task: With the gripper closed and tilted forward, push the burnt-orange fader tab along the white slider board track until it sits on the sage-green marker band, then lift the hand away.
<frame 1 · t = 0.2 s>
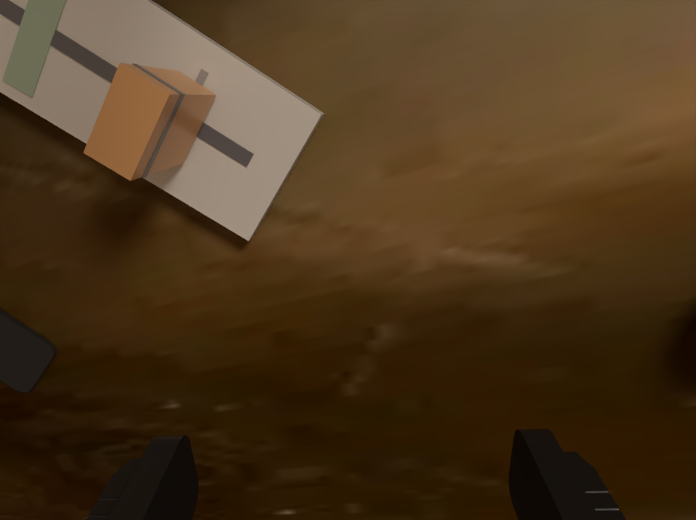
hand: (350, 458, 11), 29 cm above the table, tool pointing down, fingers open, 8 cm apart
white slider board: (126, 75, 37), on the table
fader tab: (156, 121, 31), point 6 cm above the table, slide at -6.0 cm
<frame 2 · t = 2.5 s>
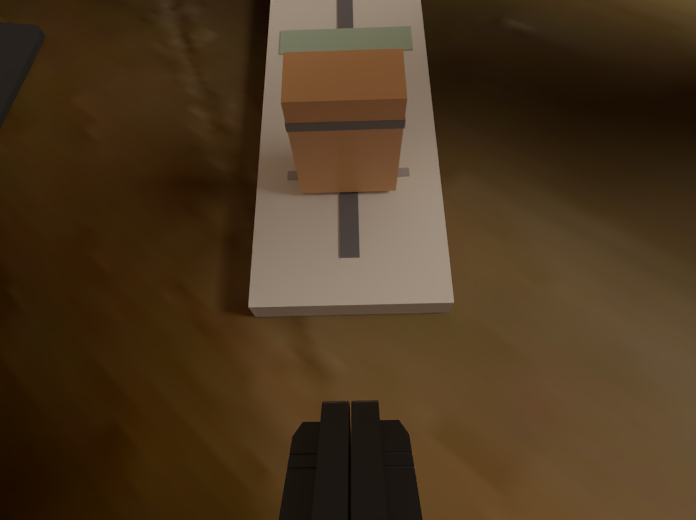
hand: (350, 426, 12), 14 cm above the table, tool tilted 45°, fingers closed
white slider board: (347, 121, 34), on the table
fader tab: (346, 129, 26), point 7 cm above the table, slide at -6.0 cm
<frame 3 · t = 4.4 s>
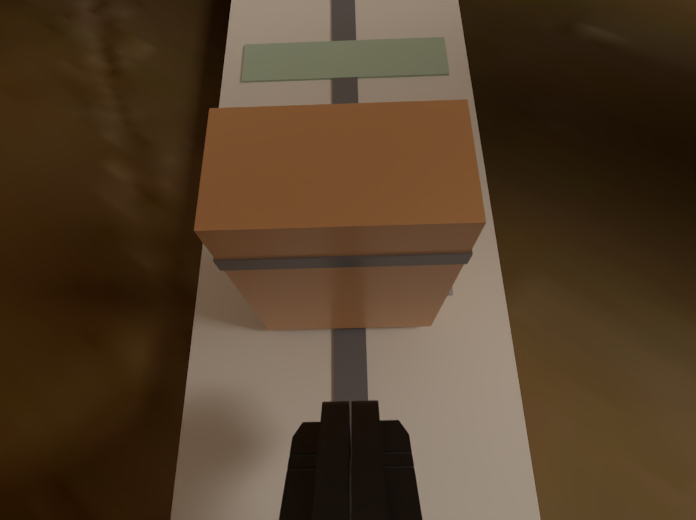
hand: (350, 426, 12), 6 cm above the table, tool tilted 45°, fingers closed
white slider board: (347, 186, 22), on the table
fader tab: (345, 241, 14), point 7 cm above the table, slide at -6.0 cm
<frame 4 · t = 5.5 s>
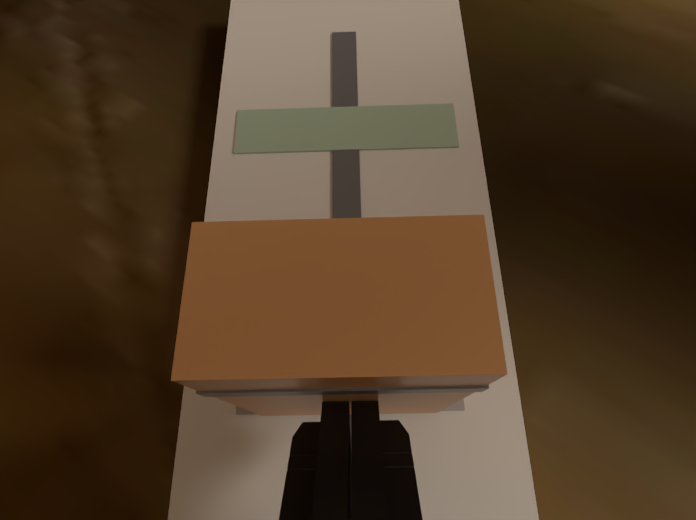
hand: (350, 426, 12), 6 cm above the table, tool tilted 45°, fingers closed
white slider board: (348, 267, 20), on the table
fader tab: (344, 340, 13), point 7 cm above the table, slide at -4.8 cm, touching gripper
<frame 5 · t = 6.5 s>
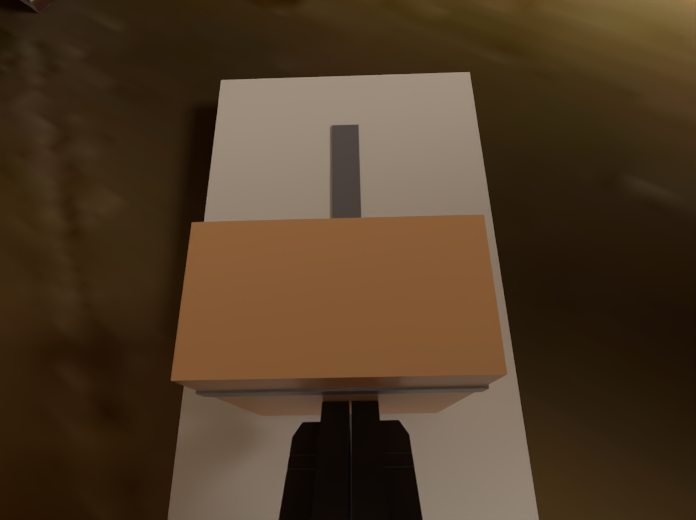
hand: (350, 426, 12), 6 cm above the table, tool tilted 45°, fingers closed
white slider board: (350, 404, 18), on the table
fader tab: (344, 340, 13), point 6 cm above the table, slide at 1.1 cm, touching gripper
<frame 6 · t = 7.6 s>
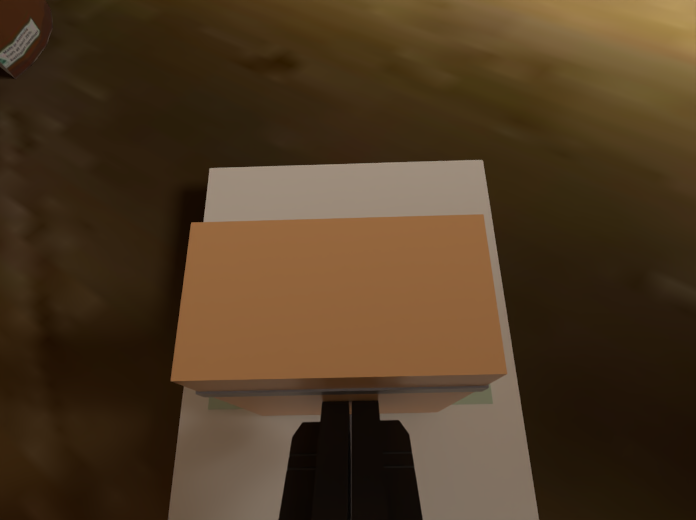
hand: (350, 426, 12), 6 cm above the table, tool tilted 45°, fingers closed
fader tab: (344, 340, 13), point 7 cm above the table, slide at 6.1 cm, touching gripper
food container: (14, 14, 28), on the table
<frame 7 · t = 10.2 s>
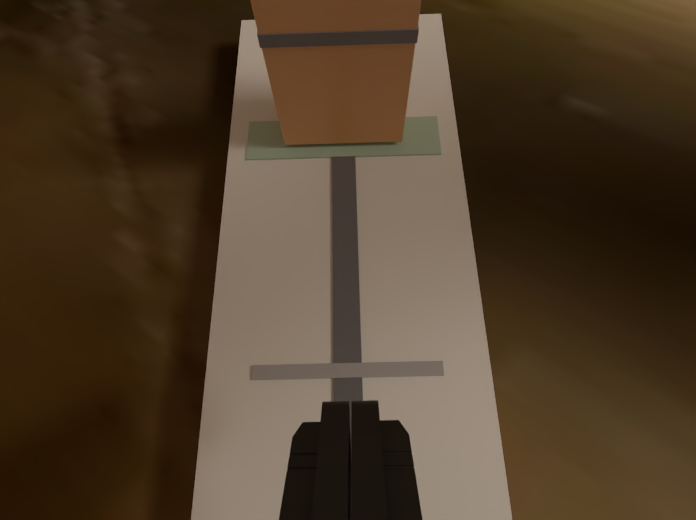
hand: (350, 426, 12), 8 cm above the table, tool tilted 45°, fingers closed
white slider board: (346, 258, 24), on the table
fader tab: (339, 55, 20), point 6 cm above the table, slide at 7.0 cm
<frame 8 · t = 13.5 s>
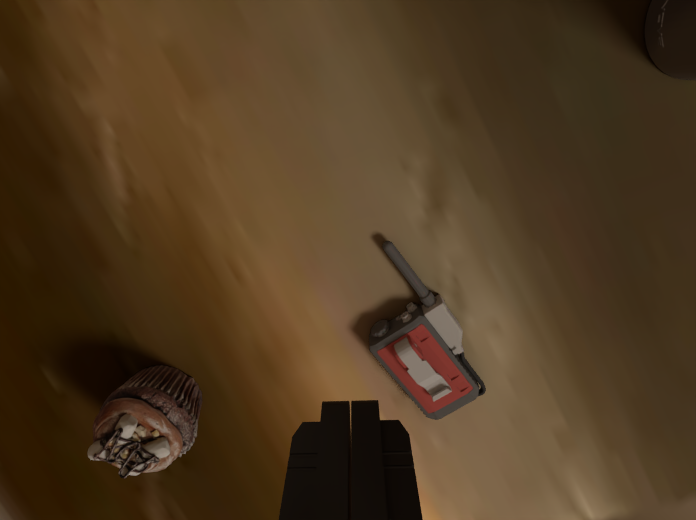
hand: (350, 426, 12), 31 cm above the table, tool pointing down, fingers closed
walkie-talkie: (413, 328, 47), on the table
cupcake: (167, 393, 50), on the table
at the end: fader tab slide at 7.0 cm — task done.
